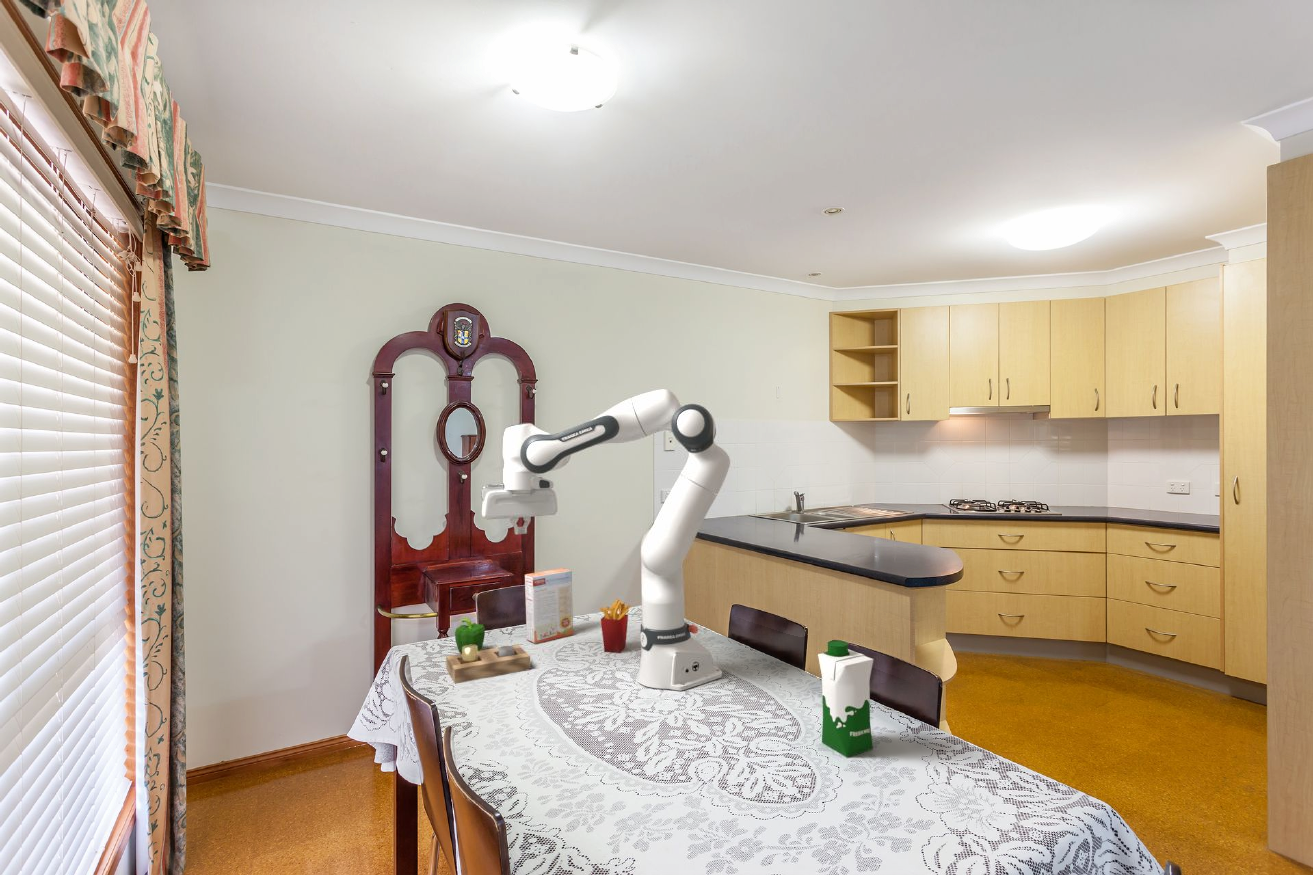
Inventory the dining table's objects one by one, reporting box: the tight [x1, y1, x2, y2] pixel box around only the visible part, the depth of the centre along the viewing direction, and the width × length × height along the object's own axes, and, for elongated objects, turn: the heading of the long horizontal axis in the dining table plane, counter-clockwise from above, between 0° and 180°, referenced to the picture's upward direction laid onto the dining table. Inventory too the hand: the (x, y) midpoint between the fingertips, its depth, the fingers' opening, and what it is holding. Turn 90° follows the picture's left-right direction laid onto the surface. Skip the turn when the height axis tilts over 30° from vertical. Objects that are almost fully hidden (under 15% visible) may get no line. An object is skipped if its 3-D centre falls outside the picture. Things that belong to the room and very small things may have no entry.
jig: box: [445, 644, 531, 684], centre depth 180 cm, size 20×12×5 cm, turn 118°
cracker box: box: [524, 567, 574, 645], centre depth 208 cm, size 14×6×21 cm, turn 128°
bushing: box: [462, 645, 478, 664], centre depth 178 cm, size 4×4×7 cm
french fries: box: [599, 598, 632, 654], centre depth 195 cm, size 9×8×15 cm
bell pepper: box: [454, 618, 486, 654], centre depth 194 cm, size 8×8×10 cm
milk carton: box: [817, 640, 874, 758], centre depth 132 cm, size 9×9×20 cm
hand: (520, 533), depth 178 cm, fingers closed
